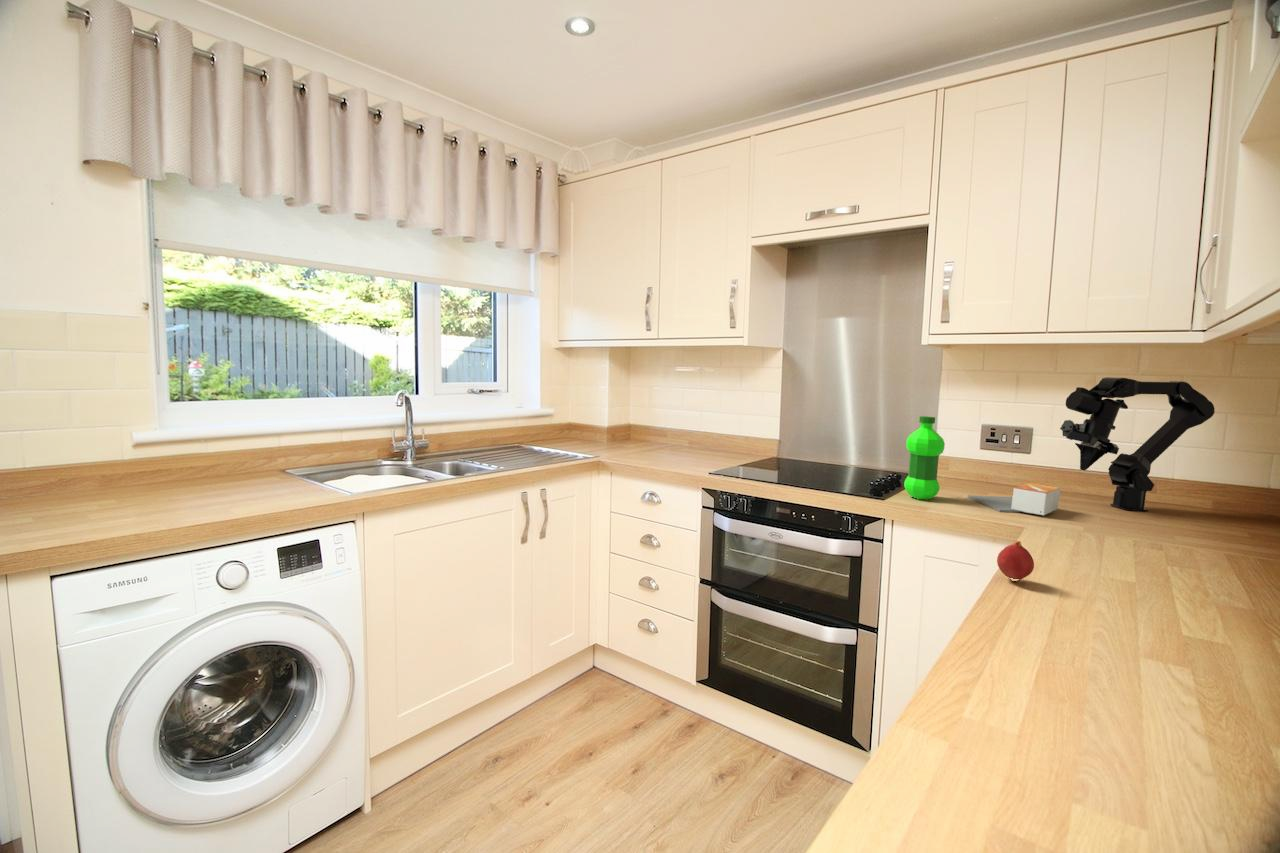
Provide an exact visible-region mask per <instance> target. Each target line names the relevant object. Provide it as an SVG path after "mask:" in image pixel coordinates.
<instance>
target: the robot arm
mask: <svg viewBox="0 0 1280 853" xmlns="http://www.w3.org/2000/svg"><path fill="white" fill-rule="evenodd" d="M1137 395H1166V396H1167V398H1168V403H1169V405H1170V406H1171V407H1172V408H1171V410H1170V411H1169V419H1168V420H1167V421H1166V422H1165V423H1164V424H1163V425H1161V427H1159V428H1158V429H1157V431H1155V432H1154V433H1153V434H1152V435H1151V436H1149V438H1148V439H1147V440H1146V441H1145V442H1144V443H1142V445H1141V446H1140V447H1139V448H1138V449H1136V450H1135V451H1134V452H1132V453H1131V454H1127V453H1120V454H1119V455H1118V452H1119V450H1120V447H1119V446H1118V445H1117V444H1115V443H1114V442H1111V439H1109V437H1110V434H1111V432H1112V430H1116V428H1117V427H1116V426H1115V425H1114V424H1115V421H1116V418H1117V416H1118V413H1119V411H1120V409H1121V410H1122V409H1123V410H1124V409H1125V410H1127V409H1128V408H1129V406H1128V405H1127V404H1126V402H1125V400H1124V398H1130V397H1134V396H1137ZM1115 398H1116V399H1115ZM1065 406H1066V407H1065V408H1067V409H1069V411H1070V410H1071V411H1075V412H1077V413H1081V414H1084V415H1087V416H1088V415H1090V417H1089V418H1086V419H1084V420H1083V423H1075V422H1074V421H1073V420H1071V419H1068V420H1067V419H1066V420H1064V422H1063V423H1062V424H1061V427H1060V430H1061V431H1062V437H1065V439H1068V440H1069V441H1077V442H1080V443H1076V442H1075V443H1074V445H1075V446H1076V447H1077V448H1078V450H1079V453H1080V454H1079V455H1080V456H1079V457H1080V458H1079V459H1080V460H1079V463H1080V464H1079V469H1080V470H1081V471H1084V472H1086V471H1087V470H1088V469H1089V468H1090V467H1092V465H1093V464H1095V463H1096V462H1098V460H1099V459H1100V458H1102V457H1103V456H1104V455H1107V454H1108V453H1109V454H1113V455H1118V456H1117V457H1116V458H1115V459H1114V460H1113V461H1110V466H1109V467H1108V469H1107V470H1108V476H1109V477H1110V481H1111V482H1110V483H1111V485H1113V486H1116V487H1115V491H1114V494H1113V501H1112V502H1111V503H1109V504H1110V506H1111V507H1116V508H1118V509H1121V510H1124V511H1138V512H1148V511H1149V508H1145V503H1146V495H1147V492H1151V491H1153V489H1154V486H1155V484H1154V482H1153V480H1151V479H1150V477H1148V476H1149V474H1150V473H1151V466H1152V465H1153V462H1154V461H1155V460H1157V459H1158V458H1159V457H1160V456H1161V455H1162V454H1163V453H1164V452H1165V451H1166V450H1167V449H1168V448H1169V447H1171V445H1172V444H1174V443H1175V442H1176V441H1177V440H1178V439H1179V438H1180V437H1182V435H1183V434H1184V433H1185V432H1186V431H1188V430H1189V429H1191V428H1194V427H1197V426H1200V425H1202V424H1204V423H1205V422H1207V421H1208V420H1210V419H1211V418H1212V417H1213V416H1214V414H1215V413H1216V411H1215V409H1216V408H1215V406H1214V404H1213V402H1212V401H1211V400H1209V399H1208V398H1207V397H1206V396H1205V395H1204V394H1202V393H1201V392H1199V391H1198V390H1196V389H1195V388H1193V386H1192V385H1190V383H1189V382H1186V381H1183V380H1181V381H1178V380H1177V381H1176V380H1170V381H1140V380H1137V379H1133V378H1128V377H1109V376H1108V377H1106V376H1105V377H1103V378H1102V379H1100V381H1099V383H1097V384H1096V385H1095V386H1093V387H1092V388H1090V389H1087V388H1085V387H1080V386H1079V387H1076V388H1075V390H1074V391H1073V392H1071V393H1070V394H1069V395H1068V396H1067V397H1066V400H1065Z"/></svg>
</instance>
